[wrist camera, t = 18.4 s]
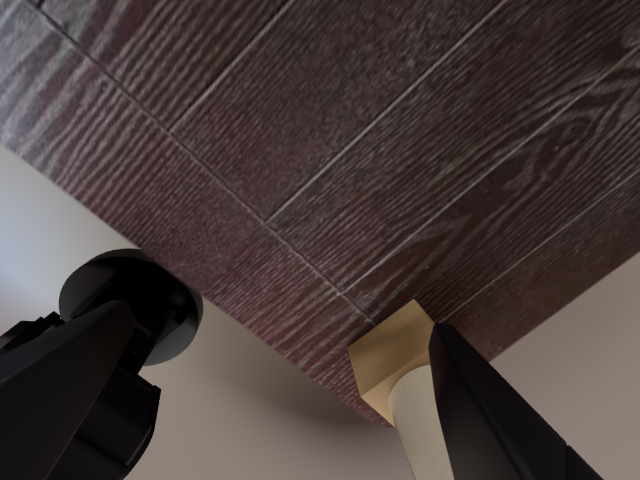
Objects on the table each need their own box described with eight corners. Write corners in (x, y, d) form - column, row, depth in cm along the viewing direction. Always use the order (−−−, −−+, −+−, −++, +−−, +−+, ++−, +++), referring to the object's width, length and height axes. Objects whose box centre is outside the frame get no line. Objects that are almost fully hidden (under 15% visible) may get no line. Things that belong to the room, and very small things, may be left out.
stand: (392, 390, 28) (413, 443, 23) (346, 347, 26) (359, 397, 21) (455, 347, 27) (491, 394, 22) (413, 298, 25) (443, 339, 20)
